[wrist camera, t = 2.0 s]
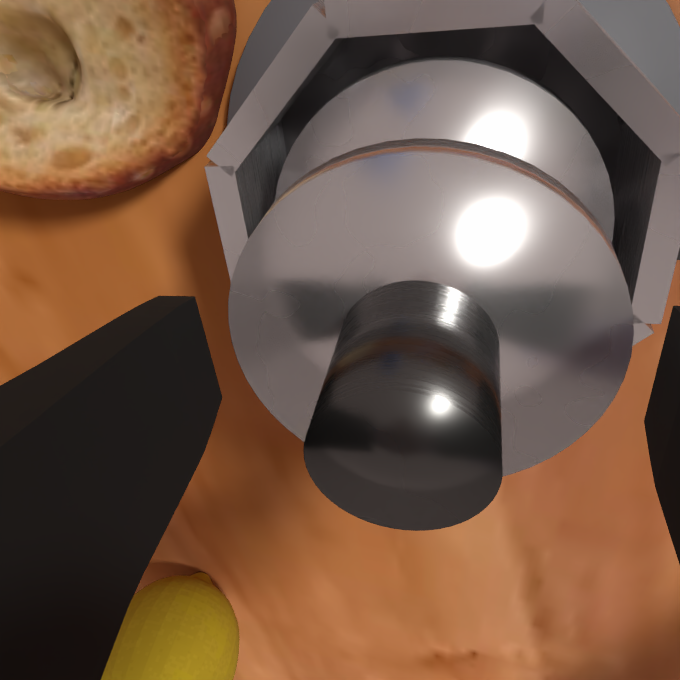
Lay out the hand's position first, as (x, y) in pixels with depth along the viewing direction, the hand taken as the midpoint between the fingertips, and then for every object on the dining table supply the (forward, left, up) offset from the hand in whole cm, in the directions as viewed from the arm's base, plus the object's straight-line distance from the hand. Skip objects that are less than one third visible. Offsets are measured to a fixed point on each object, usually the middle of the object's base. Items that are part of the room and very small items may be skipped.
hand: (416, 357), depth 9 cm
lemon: (-19, +11, -8) cm, 23 cm away
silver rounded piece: (0, 0, -4) cm, 4 cm away
